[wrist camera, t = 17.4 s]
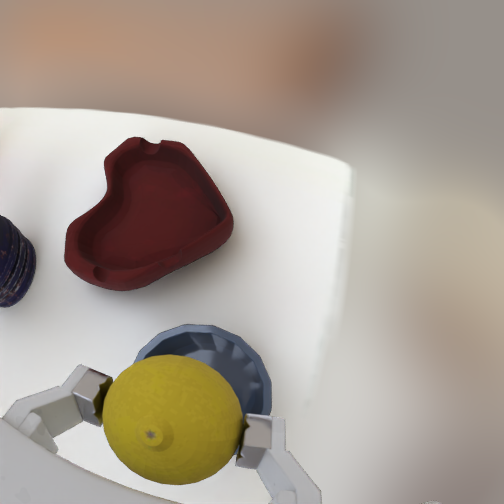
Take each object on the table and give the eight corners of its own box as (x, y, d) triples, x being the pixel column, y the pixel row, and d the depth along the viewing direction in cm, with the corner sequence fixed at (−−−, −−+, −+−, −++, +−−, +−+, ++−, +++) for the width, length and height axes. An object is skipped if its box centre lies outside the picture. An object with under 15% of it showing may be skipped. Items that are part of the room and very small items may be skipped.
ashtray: (212, 322, 27) (209, 310, 23) (71, 282, 27) (49, 265, 23) (248, 177, 35) (252, 149, 30) (128, 158, 35) (119, 132, 30)
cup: (205, 461, 21) (199, 486, 15) (130, 384, 24) (101, 383, 17) (282, 391, 25) (301, 394, 19) (206, 316, 27) (200, 296, 21)
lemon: (249, 377, 15) (272, 374, 8) (224, 467, 12) (223, 534, 5) (154, 347, 15) (94, 316, 8) (128, 435, 13) (55, 467, 5)
